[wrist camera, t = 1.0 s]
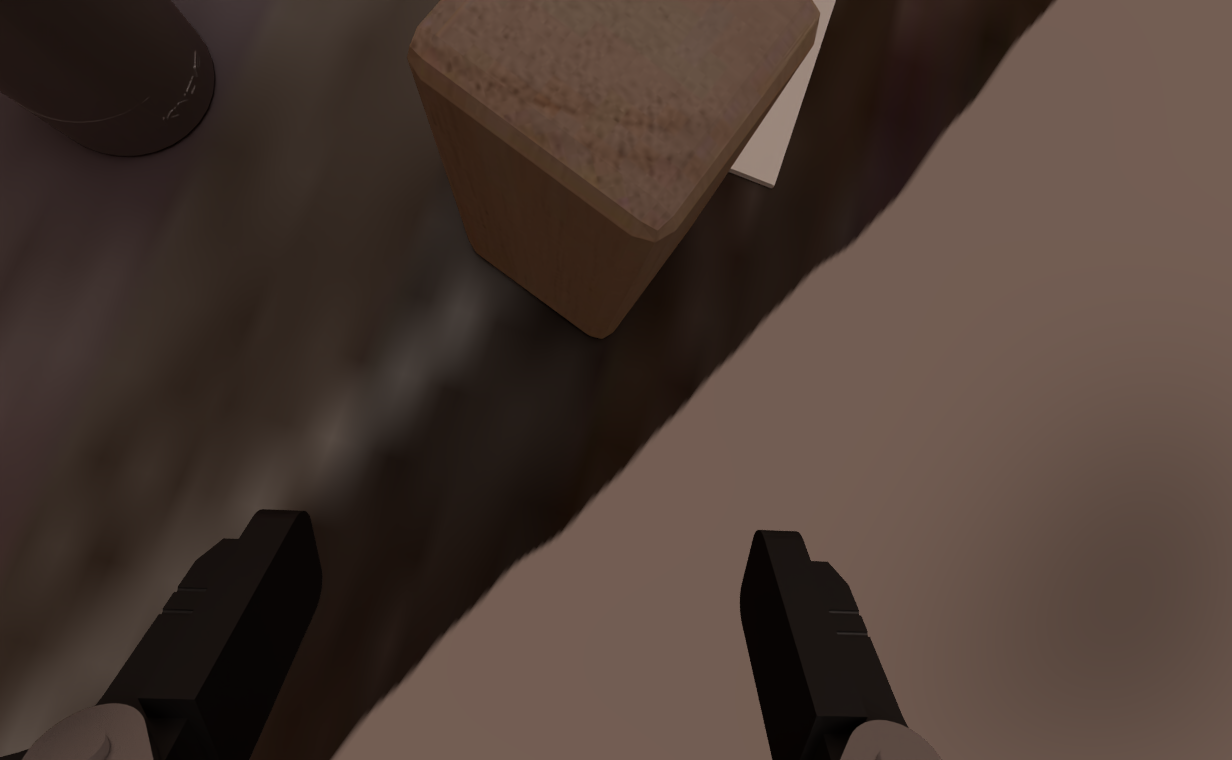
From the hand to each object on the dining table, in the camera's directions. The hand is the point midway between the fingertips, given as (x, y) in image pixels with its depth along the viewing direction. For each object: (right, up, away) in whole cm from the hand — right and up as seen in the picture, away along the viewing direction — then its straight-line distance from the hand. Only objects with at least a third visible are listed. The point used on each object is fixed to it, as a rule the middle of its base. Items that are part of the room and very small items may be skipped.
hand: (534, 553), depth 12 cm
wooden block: (-1, +12, +28) cm, 30 cm away
